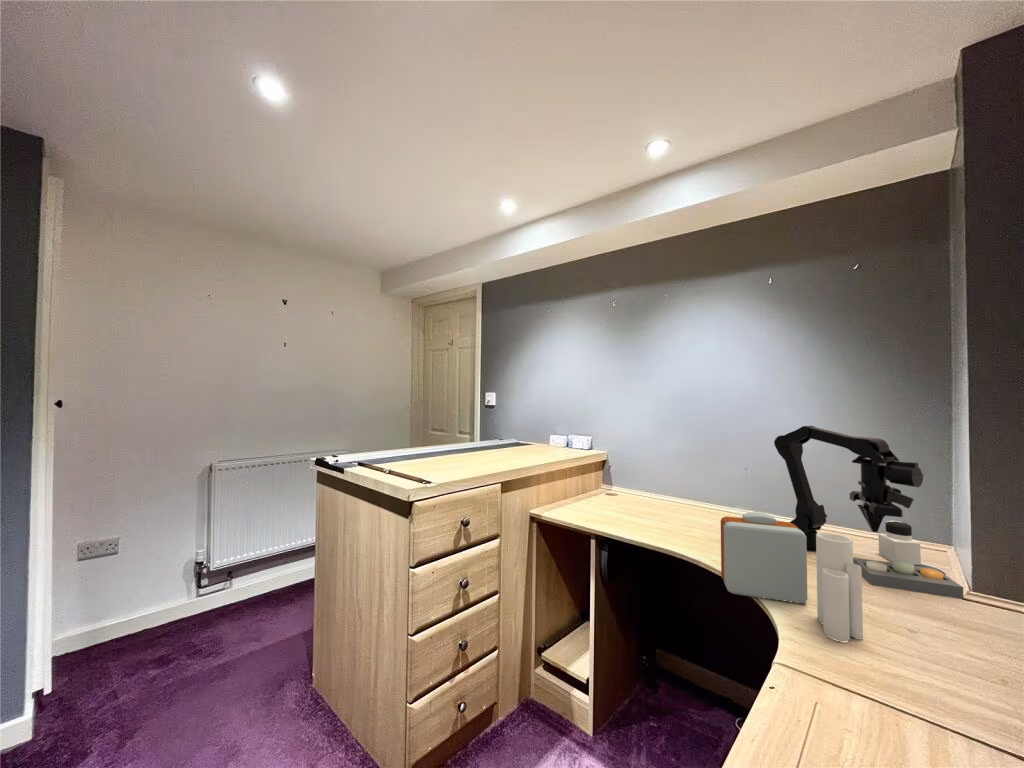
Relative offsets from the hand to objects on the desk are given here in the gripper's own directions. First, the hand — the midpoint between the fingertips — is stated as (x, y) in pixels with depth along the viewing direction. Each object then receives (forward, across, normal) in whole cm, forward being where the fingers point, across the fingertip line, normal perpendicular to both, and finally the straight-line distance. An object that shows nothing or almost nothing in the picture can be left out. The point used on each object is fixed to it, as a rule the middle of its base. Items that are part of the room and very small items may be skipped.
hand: (874, 531), depth 118 cm
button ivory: (+11, -5, +2) cm, 12 cm away
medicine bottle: (+12, +14, -11) cm, 22 cm away
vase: (+12, -41, +21) cm, 48 cm away
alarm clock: (+12, -28, +34) cm, 46 cm away
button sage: (+10, -5, -4) cm, 12 cm away
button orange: (+11, -5, -10) cm, 16 cm away
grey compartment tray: (+12, -5, -4) cm, 14 cm away
